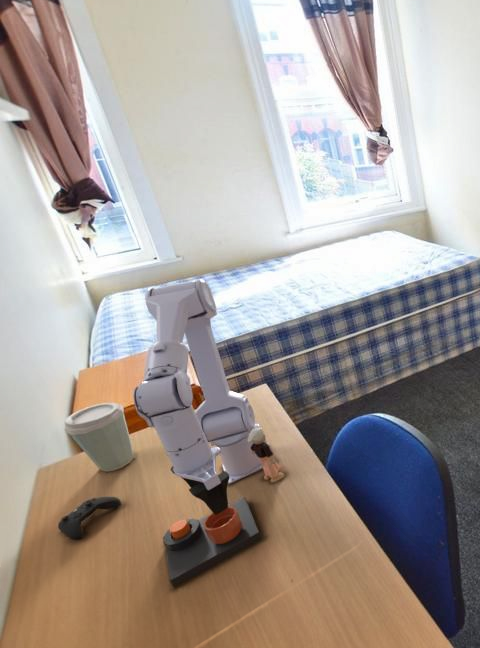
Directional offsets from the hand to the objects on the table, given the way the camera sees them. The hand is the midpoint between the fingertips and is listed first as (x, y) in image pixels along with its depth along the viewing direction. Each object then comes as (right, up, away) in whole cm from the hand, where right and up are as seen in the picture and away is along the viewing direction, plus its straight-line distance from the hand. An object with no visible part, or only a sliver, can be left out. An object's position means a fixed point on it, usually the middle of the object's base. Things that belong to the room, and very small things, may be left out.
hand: (212, 501), depth 84 cm
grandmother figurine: (+1, -3, +19) cm, 19 cm away
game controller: (-32, -9, +12) cm, 36 cm away
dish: (+1, -7, +3) cm, 8 cm away
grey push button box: (-2, -9, +4) cm, 10 cm away
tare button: (-7, -7, +3) cm, 10 cm away
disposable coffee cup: (-41, -3, +28) cm, 50 cm away
